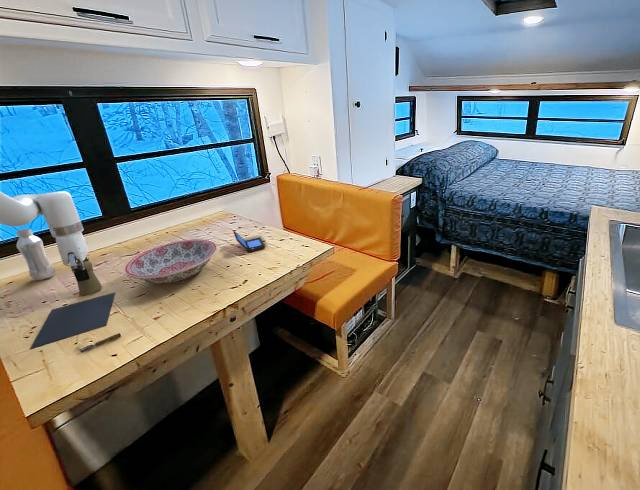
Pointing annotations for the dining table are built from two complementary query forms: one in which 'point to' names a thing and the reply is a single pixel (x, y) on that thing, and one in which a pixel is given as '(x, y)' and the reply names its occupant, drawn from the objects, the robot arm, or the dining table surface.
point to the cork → (89, 281)
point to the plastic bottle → (34, 255)
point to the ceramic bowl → (171, 261)
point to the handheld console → (250, 243)
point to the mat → (74, 319)
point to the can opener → (102, 341)
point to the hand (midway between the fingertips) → (85, 275)
